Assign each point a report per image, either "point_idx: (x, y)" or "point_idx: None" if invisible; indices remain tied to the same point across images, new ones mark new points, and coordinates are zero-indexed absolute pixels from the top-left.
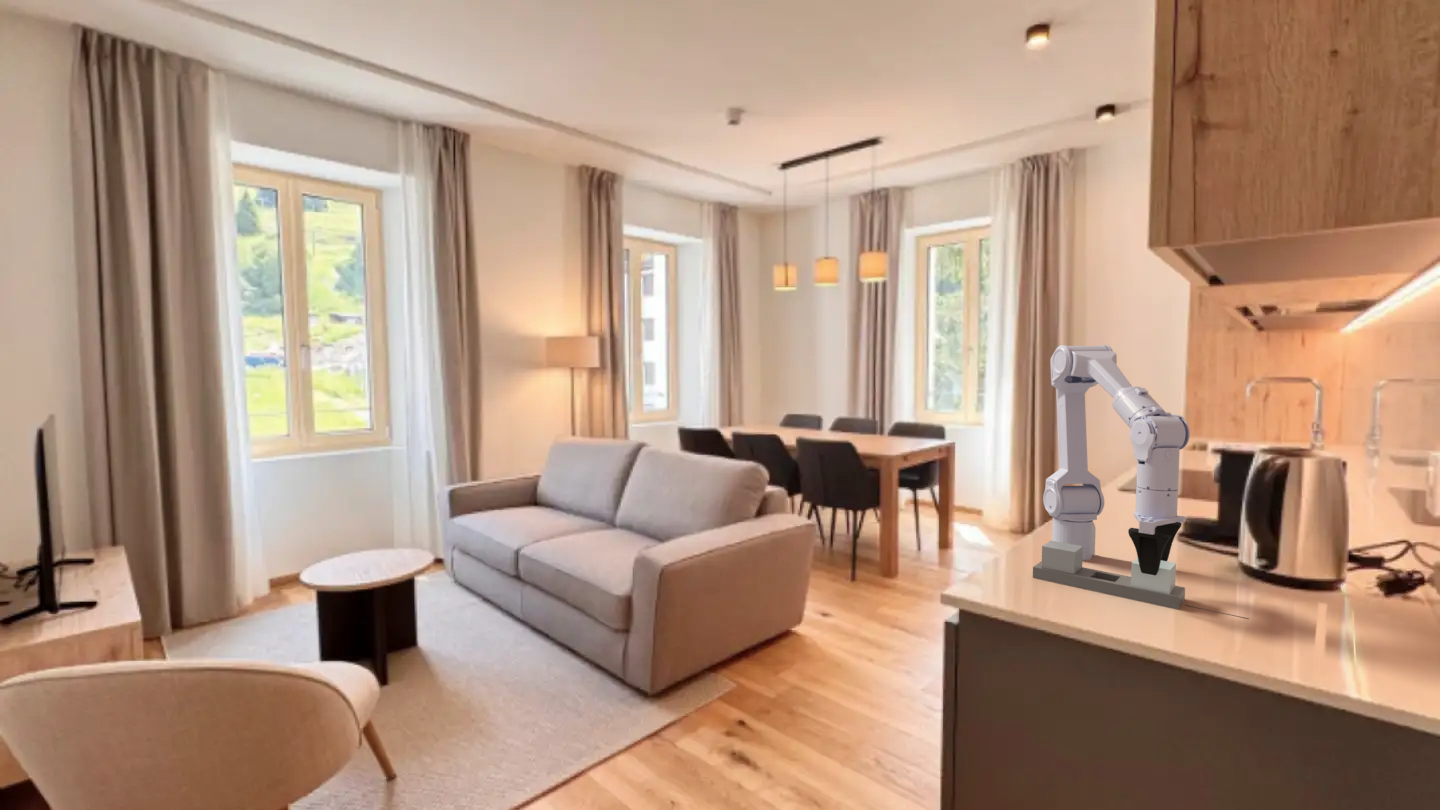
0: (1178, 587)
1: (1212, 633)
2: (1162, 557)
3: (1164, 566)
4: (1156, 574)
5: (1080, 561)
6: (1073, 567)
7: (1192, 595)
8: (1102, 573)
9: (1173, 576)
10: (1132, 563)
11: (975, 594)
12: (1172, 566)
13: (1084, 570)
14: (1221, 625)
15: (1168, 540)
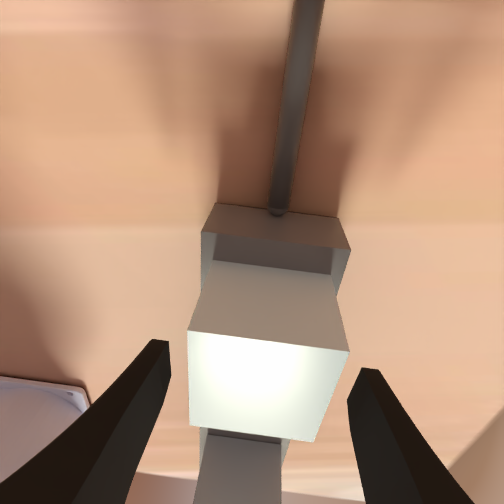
0: (218, 250)
1: (466, 117)
2: (156, 375)
3: (293, 367)
4: (378, 372)
5: (221, 460)
6: (280, 465)
7: (75, 181)
8: None
9: (257, 300)
10: (314, 438)
11: None
12: (273, 344)
13: (227, 430)
14: (356, 87)
15: (102, 469)
